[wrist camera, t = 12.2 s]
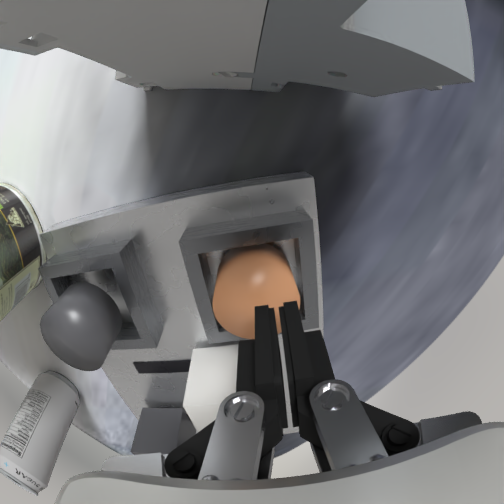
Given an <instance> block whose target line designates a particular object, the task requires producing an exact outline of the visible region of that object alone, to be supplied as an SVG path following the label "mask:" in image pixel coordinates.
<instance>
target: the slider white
mask: <svg viewBox="0 0 504 504" xmlns="http://www.w3.org/2000/svg"><path fill="white" fill-rule="evenodd" d="M238 345H239V344H236V345H227V346H218V347H209V348H198V349H193V352H192V357H191V363H190V368H189V373H188V379H187V384H186V390H185V396H184V401H183V407H184V409H185V411H186V413H187V414H188V416H189V418H190V419H191V421H192V423H193V424H194V426H195V428H196V429H197V431H198V432H199V431H201V430H202V429H203V428H205V427H206V426H207V425H209V424H210V423H211V422H213V421H214V420H215V419H216V417H217V413H218V410H219V406H220V404H221V402H222V401H223V400H224V399H225V398H226V397H227V396H229V395H231V394H232V393H236V379H237V361H238Z"/></svg>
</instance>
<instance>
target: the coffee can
mask: <svg viewBox="0 0 504 504" xmlns="http://www.w3.org/2000/svg"><path fill="white" fill-rule="evenodd" d="M41 233H42V229H41V226H40V223H39V221H38V218H37V216H36V214H35V212H34V210H33V208H32V206H31V204H30V203H29V202H28V200H27V199H26V198H25V196H24V195H23V194H22V193H21V192H20V191H19V190H17V189H16V188H15V187H13V186H11V185H9V184H6V183H0V321H1V320H2V319H3V318H4V317H5V316H6V315H7V314H8V313H9V312H10V311H11V310H12V309H13V308H14V307H15V306H16V305H17V304H18V303H19V302H20V301H21V300H22V299H23V298H24V297H25V296H26V295H27V294H28V293H29V292H30V291H31V290H32V289H34V288H35V287H37V286H38V284H39V283H40V281H41V280H42V277H41V275H40V273H39V270H38V268H39V267H40V266H42V265H43V264H44V263H45V262H46V253H45V250H44V248H43V245H42V242H41V239H40V236H39V234H41Z"/></svg>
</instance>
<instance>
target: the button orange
mask: <svg viewBox="0 0 504 504" xmlns="http://www.w3.org/2000/svg"><path fill="white" fill-rule="evenodd" d="M290 301H297V304H298V308H299V309H300V295H299V292H298V289H297V286H296V283H295V280H294V277H293V274H292V271H291V268H290V265H289V262H288V260H287V258H286V257H285V256H284V254H283V253H282V252H281V251H279V250H278V249H277V248H275V247H273V246H271V245H269V244H266V243H263V244H256V245H250V246H244V247H237V248H233V249H231V250H230V251H229V252H228V253H226V255H225V256H224V257H223V259H222V260H221V262H220V264H219V267H218V271H217V277H216V283H215V289H214V296H213V312H214V315H215V317H216V319H217V321H218V322H219V323H220V325H221V326H222V327H223V328H224V329H225V330H227V331H228V332H230V333H231V334H233V335H236V336H238V337H241V338H246V339H255V306H262V305H268V306H269V308H274V311H275V318H276V325H277V332H278V334H279V333H281V332H282V331H281V323H280V316H279V308H278V307H281V306H283V303H284V302H290Z"/></svg>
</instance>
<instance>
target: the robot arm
mask: <svg viewBox="0 0 504 504" xmlns="http://www.w3.org/2000/svg"><path fill="white" fill-rule="evenodd" d="M278 308H279V316H280V323H281V331H282V339H283V347H284V355H285V363H286V372H287V380H288V388H289V397H290V406H291V414H292V423H293V427H299V434H300V437H302V438H303V439H305V440H307V441H309V442H310V444H311V448H312V451H313V454H314V457H315V460H316V463H317V466H318V468H319V471H320V473H316V474H310V475H303V476H295V477H287V478H276V479H271V472H272V465H273V458H274V451H275V449H274V447H275V446H276V445H277V444H278V443H279V442H280V441H281V440H282V436H283V429H284V428H288V420H287V410H286V400H285V390H284V380H283V371H282V362H281V354H280V346H279V339H278V332H277V325H276V318H275V311H274V308H269V306H268V305H262V306H255V339H249V340H240V341H239V345H238V361H237V379H236V393H232V394H231V395H229V396H227V397H226V398H225V399H224V400H223V401H222V402H221V404H220V406H219V410H218V413H217V417H216V419H215V420H214V421H213V422H211V423H210V424H209V425H207V426H206V427H205V428H203V429H202V430H201V431H199V432H198V433H197V434H195V435H194V436H192V437H191V438H190V439H188V440H187V441H185V442H184V443H182V444H181V445H179V446H178V447H177V448H175V449H174V450H172V451H171V452H170V453H169V454H162V453H151V454H139V455H122V456H113V457H110V458H108V459H106V461H105V462H104V463H103V465H102V469H101V471H92V472H86V473H82V474H78V475H75V476H73V477H72V478H70V479H69V480H67V482H66V483H65V484H64V485H63V487H62V488H61V490H60V492H59V494H58V496H57V498H56V501H55V504H504V422H489V423H484V424H482V421H481V419H480V417H479V416H478V415H477V414H476V413H473V412H470V411H469V412H461V413H456V414H451V415H446V416H441V417H436V418H429V419H422V420H420V422H418V423H412V422H410V421H408V420H406V419H403V418H401V417H398V416H396V415H393V414H390V413H388V412H385V411H383V410H381V409H378V408H376V407H374V406H371V405H369V404H367V403H364V402H362V401H360V400H359V399H358V397H357V395H356V393H355V391H354V389H353V388H352V387H351V386H350V385H349V384H348V383H346V382H344V381H341V380H335V377H334V374H333V370H332V367H331V363H330V360H329V356H328V353H327V349H326V346H325V342H324V339H323V336H322V332H321V330H315V331H309V332H304V330H303V325H302V321H301V317H300V312H299V308H298V304H297V301H290V302H284V303H283V306H281V307H278Z"/></svg>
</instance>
